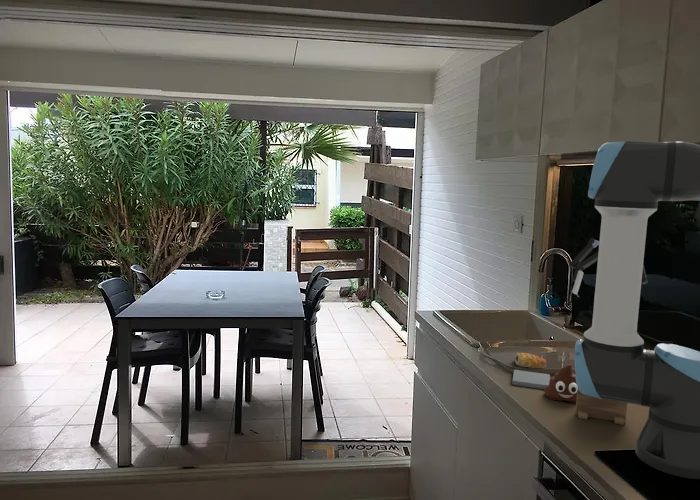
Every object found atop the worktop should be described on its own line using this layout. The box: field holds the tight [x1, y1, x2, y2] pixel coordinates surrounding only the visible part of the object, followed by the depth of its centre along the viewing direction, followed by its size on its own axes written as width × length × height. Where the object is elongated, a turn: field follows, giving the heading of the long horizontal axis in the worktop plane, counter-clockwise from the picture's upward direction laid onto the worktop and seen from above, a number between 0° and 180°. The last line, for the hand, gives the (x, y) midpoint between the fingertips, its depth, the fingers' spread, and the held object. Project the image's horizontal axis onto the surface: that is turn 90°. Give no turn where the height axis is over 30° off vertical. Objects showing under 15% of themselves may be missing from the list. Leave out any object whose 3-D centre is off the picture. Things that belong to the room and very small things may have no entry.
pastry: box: [514, 352, 548, 369], centre depth 177 cm, size 9×7×4 cm
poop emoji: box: [544, 363, 578, 404], centre depth 149 cm, size 10×8×9 cm
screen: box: [575, 389, 628, 426], centre depth 137 cm, size 5×11×14 cm, turn 72°
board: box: [511, 369, 551, 390], centre depth 161 cm, size 10×10×1 cm
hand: (599, 299), depth 156 cm, fingers open, 13 cm apart
